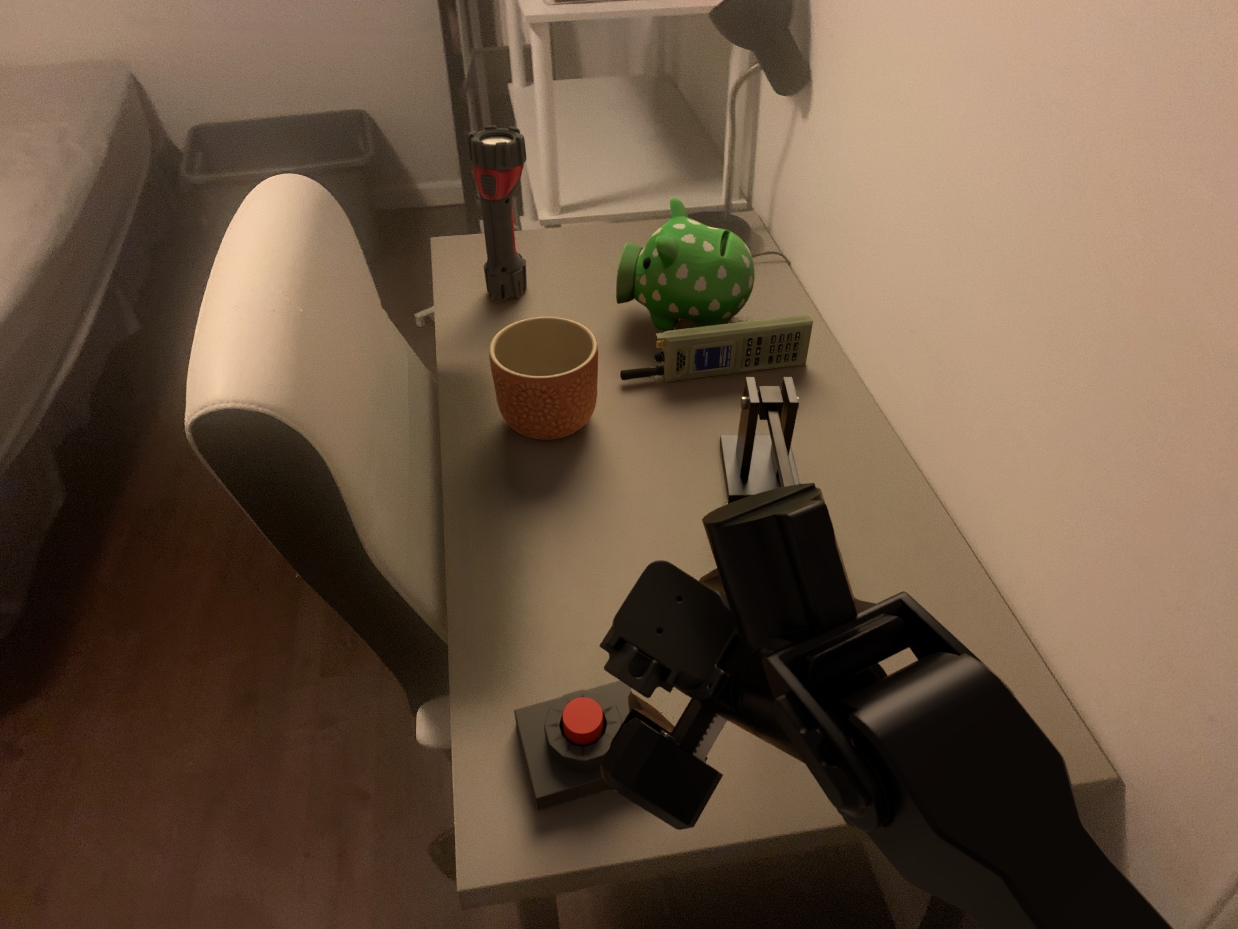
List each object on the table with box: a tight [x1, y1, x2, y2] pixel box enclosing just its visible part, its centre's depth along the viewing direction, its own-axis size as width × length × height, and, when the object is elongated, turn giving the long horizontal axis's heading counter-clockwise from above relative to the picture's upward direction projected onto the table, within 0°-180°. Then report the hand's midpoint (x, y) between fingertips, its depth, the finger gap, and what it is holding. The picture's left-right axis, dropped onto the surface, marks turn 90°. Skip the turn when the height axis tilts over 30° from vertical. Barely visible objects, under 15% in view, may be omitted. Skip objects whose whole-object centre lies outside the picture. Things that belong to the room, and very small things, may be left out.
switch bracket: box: [719, 376, 801, 504], centre depth 88 cm, size 10×8×12 cm
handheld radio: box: [619, 314, 814, 383], centre depth 103 cm, size 7×3×25 cm
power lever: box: [757, 385, 795, 487], centre depth 76 cm, size 26×3×3 cm, turn 0°
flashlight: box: [467, 124, 528, 304], centre depth 113 cm, size 8×8×23 cm
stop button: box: [562, 697, 603, 745], centre depth 64 cm, size 3×3×2 cm
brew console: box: [513, 679, 633, 812], centre depth 66 cm, size 10×8×4 cm
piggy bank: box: [615, 197, 756, 332], centre depth 110 cm, size 14×18×15 cm
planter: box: [488, 316, 599, 441], centre depth 95 cm, size 12×12×11 cm
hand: (670, 639), depth 56 cm, fingers open, 9 cm apart
